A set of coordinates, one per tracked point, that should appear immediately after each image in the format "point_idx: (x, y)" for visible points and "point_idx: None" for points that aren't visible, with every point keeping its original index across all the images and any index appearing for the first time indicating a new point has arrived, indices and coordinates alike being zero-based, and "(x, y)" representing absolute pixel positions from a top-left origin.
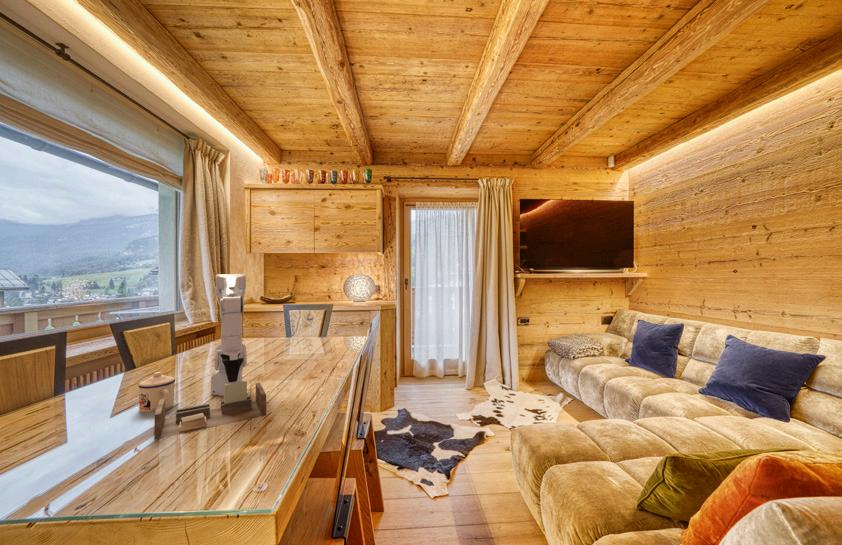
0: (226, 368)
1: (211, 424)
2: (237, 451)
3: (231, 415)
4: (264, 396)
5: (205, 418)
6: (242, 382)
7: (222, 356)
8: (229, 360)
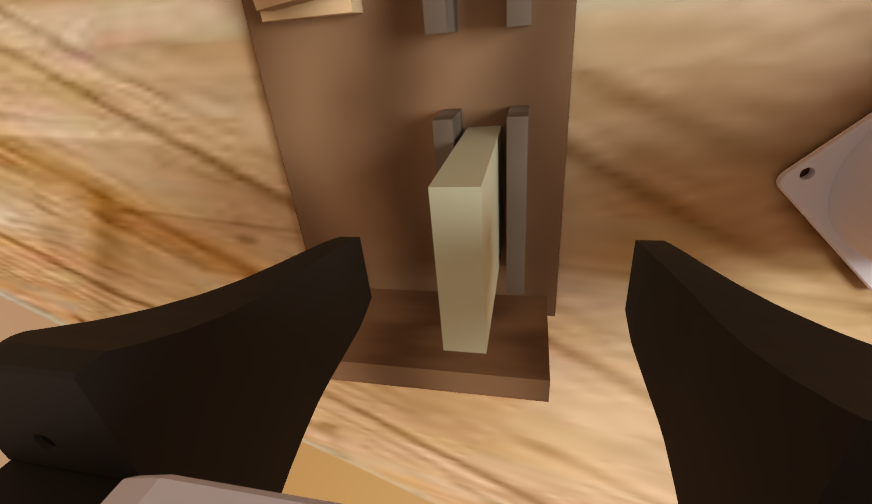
0: (167, 311)
1: (290, 53)
2: (60, 161)
3: (383, 162)
4: None
5: (317, 12)
6: (444, 323)
7: (821, 439)
8: (4, 450)
